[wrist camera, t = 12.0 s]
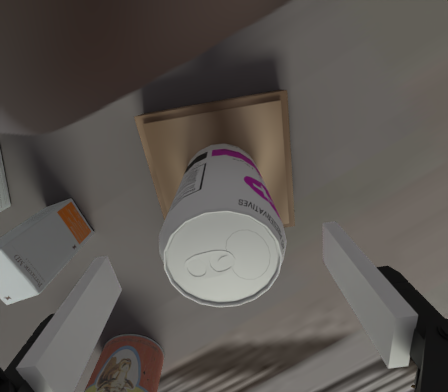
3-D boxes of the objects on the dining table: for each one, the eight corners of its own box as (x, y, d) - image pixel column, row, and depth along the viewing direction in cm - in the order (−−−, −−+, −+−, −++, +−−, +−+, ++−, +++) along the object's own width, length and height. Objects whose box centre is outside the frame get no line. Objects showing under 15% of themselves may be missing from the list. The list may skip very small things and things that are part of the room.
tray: (175, 229, 36) (170, 245, 32) (143, 113, 30) (132, 117, 26) (288, 213, 35) (295, 228, 31) (279, 89, 29) (288, 90, 25)
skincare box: (96, 232, 36) (41, 296, 25) (70, 240, 37) (5, 307, 26) (71, 195, 34) (-1, 248, 23) (45, 205, 34) (-39, 262, 23)
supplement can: (248, 132, 27) (277, 182, 13) (264, 201, 30) (301, 299, 16) (175, 153, 27) (129, 221, 14) (199, 217, 31) (181, 325, 17)
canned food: (163, 334, 45) (144, 416, 34) (165, 374, 49) (149, 458, 38) (99, 332, 44) (58, 414, 33) (107, 373, 49) (73, 457, 38)
